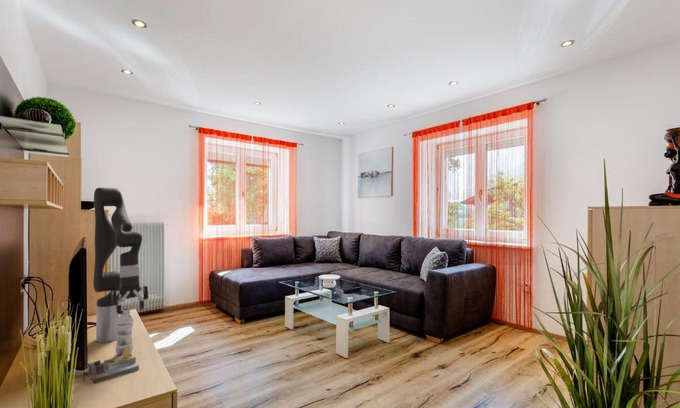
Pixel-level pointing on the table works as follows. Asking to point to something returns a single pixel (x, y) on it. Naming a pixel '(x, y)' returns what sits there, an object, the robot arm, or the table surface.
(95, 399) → the table surface
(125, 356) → the bolt
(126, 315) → the silver threaded hollow container
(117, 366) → the lock board
